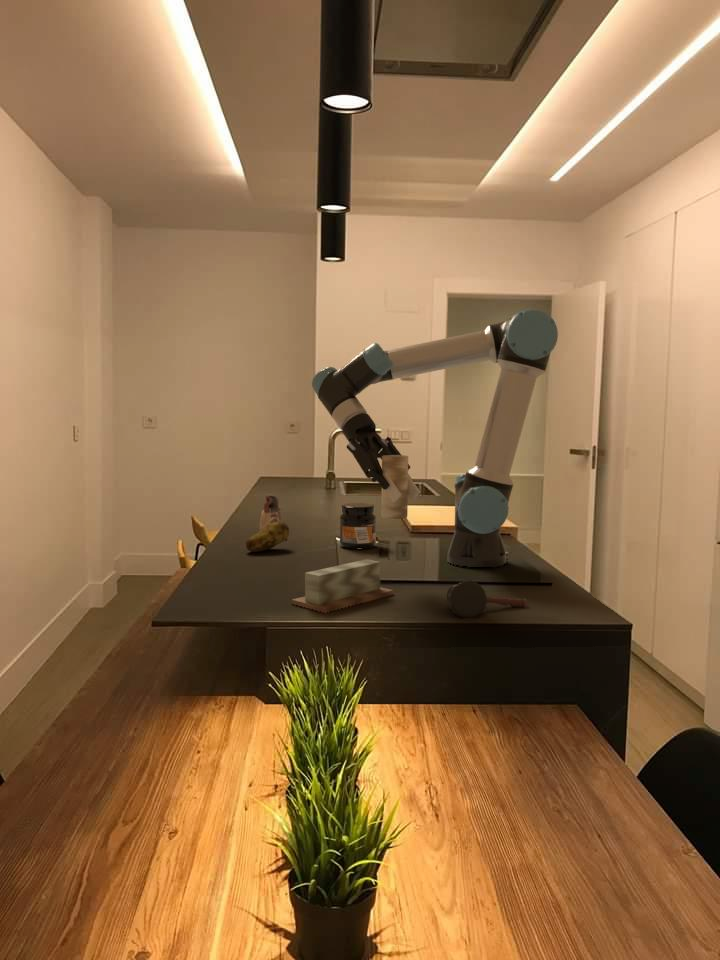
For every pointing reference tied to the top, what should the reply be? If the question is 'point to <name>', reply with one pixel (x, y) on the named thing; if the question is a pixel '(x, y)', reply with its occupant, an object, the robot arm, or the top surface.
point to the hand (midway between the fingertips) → (406, 497)
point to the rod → (399, 475)
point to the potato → (268, 537)
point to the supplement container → (357, 525)
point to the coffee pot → (475, 599)
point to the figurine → (270, 511)
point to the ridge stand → (342, 586)
